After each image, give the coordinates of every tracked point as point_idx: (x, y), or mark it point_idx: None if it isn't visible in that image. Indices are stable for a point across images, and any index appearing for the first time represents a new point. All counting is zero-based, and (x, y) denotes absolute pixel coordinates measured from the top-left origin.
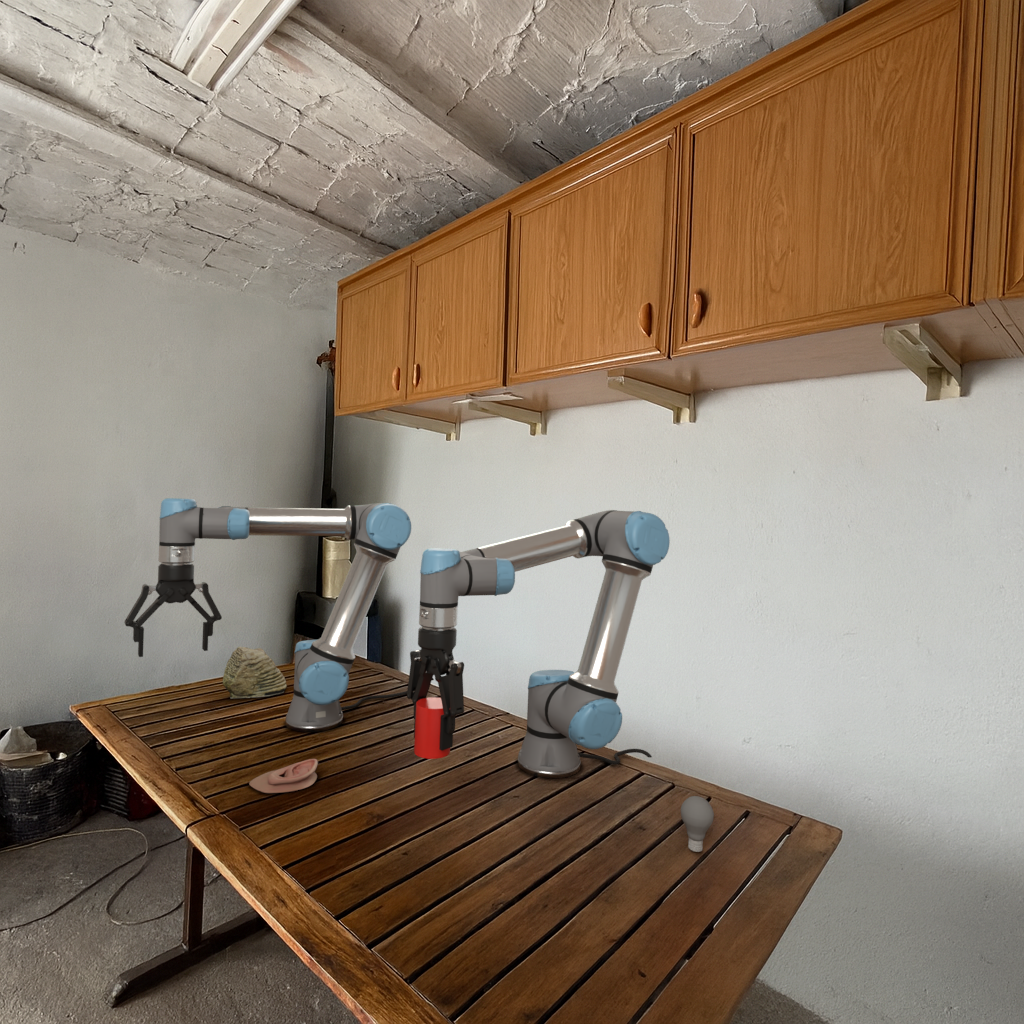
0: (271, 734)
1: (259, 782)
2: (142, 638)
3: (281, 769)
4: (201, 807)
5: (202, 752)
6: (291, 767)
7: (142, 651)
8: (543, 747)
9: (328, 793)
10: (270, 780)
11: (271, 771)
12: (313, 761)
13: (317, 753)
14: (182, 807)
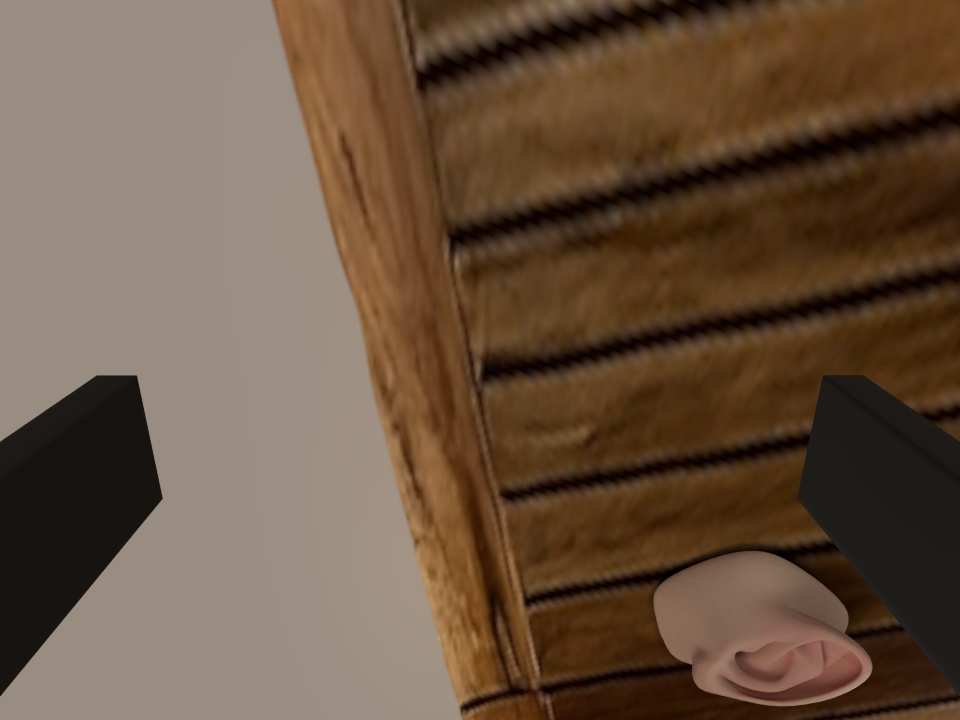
0: (923, 179)
1: (677, 628)
2: (8, 670)
3: (755, 642)
4: (505, 645)
5: (600, 251)
6: (785, 650)
7: (124, 538)
8: None
9: (813, 713)
10: (697, 682)
11: (734, 596)
12: (859, 661)
13: None
14: (461, 625)
